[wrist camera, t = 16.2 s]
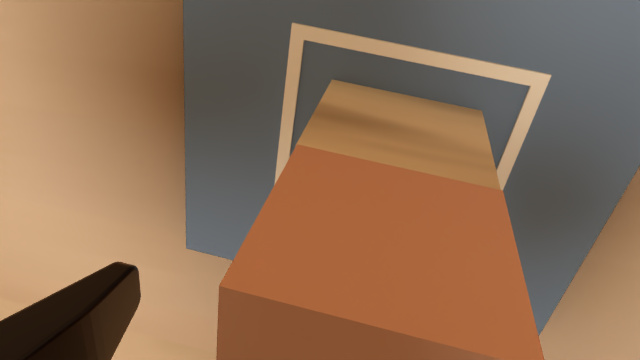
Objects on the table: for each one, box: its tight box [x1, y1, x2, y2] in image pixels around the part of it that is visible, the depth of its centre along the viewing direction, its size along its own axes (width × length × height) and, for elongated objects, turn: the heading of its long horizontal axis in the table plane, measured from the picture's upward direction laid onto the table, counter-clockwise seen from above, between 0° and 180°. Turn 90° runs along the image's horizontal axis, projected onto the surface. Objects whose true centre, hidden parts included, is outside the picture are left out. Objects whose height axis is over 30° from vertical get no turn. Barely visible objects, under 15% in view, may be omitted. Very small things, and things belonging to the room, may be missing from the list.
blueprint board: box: [183, 0, 640, 336], centre depth 15 cm, size 12×14×1 cm
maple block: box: [295, 80, 501, 190], centre depth 13 cm, size 4×4×4 cm
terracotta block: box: [217, 144, 544, 360], centre depth 9 cm, size 4×4×4 cm
